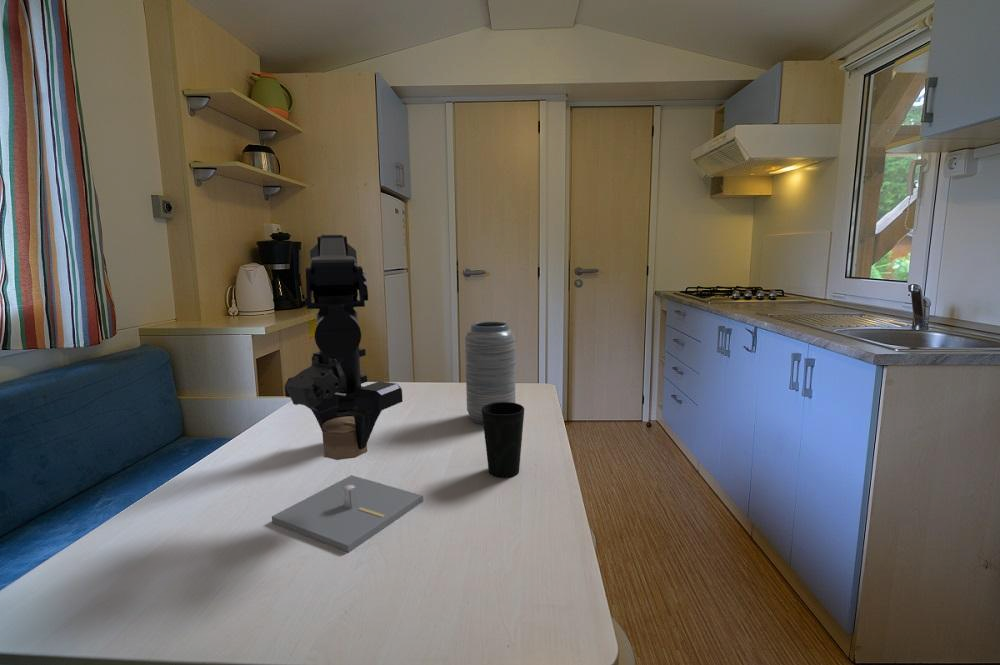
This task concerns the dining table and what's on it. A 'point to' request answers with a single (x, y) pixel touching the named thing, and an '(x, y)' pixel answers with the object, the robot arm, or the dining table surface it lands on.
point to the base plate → (348, 512)
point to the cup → (503, 437)
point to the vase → (489, 366)
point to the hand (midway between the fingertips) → (345, 444)
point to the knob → (341, 439)
